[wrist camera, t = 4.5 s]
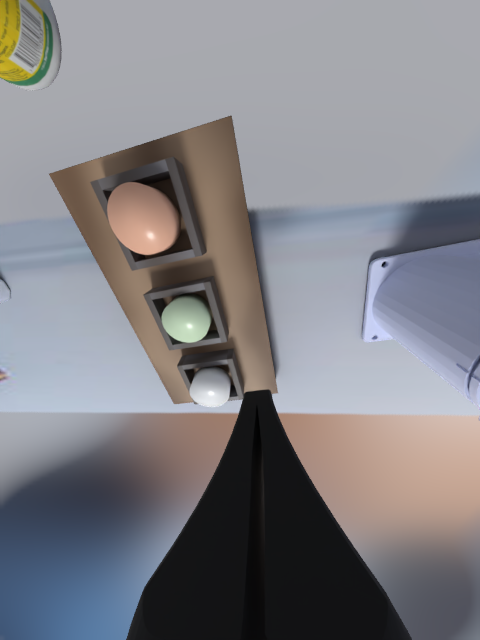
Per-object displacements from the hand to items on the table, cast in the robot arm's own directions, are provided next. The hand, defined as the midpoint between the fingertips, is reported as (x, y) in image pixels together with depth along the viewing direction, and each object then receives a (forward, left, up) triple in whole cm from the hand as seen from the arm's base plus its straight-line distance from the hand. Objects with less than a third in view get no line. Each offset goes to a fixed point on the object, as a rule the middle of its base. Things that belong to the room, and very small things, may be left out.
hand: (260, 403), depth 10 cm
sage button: (+5, -3, -7) cm, 9 cm away
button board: (+5, -3, -9) cm, 11 cm away
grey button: (+5, +4, -6) cm, 9 cm away
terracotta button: (+5, -10, -6) cm, 13 cm away
